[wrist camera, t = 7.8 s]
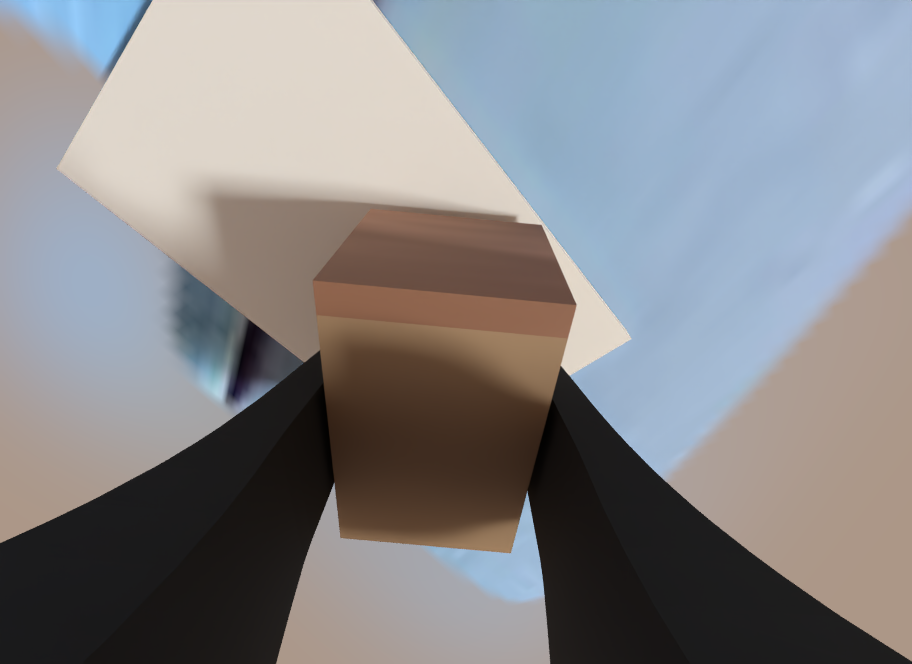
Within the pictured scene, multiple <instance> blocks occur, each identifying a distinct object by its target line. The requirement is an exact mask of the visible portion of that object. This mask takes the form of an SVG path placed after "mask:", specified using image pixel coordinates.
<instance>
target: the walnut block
mask: <svg viewBox="0 0 912 664" xmlns="http://www.w3.org/2000/svg"><path fill="white" fill-rule="evenodd" d="M312 281H313V290H314V299H315V308H316V317H317V326H318V336H319V345H320V354H321V363H322V372H323V381H324V391H325V400H326V409H327V418H328V427H329V436H330V445H331V455H332V464H333V473H334V482H335V491H336V499H337V510H338V518H339V527H340V537H341V538H347V539H358V540H370V541H380V542H393V543H402V544H414V545H425V546H436V547H447V548H458V549H469V550H481V551H492V552H503V553H511V550H512V547H513V543H514V539H515V535H516V532H517V528H518V524H519V520H520V517H521V513H522V509H523V505H524V502H525V498H526V494H527V490H528V487H529V483H530V479H531V475H532V472H533V468H534V464H535V460H536V456H537V453H538V449H539V445H540V441H541V438H542V434H543V430H544V426H545V423H546V419H547V415H548V411H549V408H550V404H551V400H552V396H553V393H554V389H555V385H556V381H557V378H558V374H559V370H560V366H561V363H562V359H563V355H564V351H565V348H566V344H567V340H568V336H569V333H570V329H571V325H572V321H573V318H574V314H575V310H576V306H577V304H576V302H575V300H574V298H573V295H572V293H571V291H570V288H569V286H568V284H567V282H566V279H565V277H564V275H563V272H562V270H561V268H560V266H559V263H558V261H557V259H556V256H555V254H554V252H553V250H552V247H551V245H550V243H549V240H548V238H547V236H546V234H545V231H544V229H543V227H542V225H538V224H527V223H517V222H506V221H495V220H485V219H474V218H464V217H453V216H443V215H432V214H421V213H411V212H400V211H390V210H379V209H370V210H369V211H368V213H367V214H366V215H365V216H364V217H363V219H362V220H361V221H360V222H359V224H358V225H357V226H356V227H355V229H354V230H353V231H352V232H351V234H350V235H349V236H348V237H347V238H346V240H345V241H344V242H343V243H342V245H341V246H340V247H339V248H338V250H337V251H336V252H335V253H334V255H333V256H332V257H331V258H330V259H329V261H328V262H327V263H326V264H325V266H324V267H323V268H322V269H321V271H320V272H319V273H318V274H317V276H316V277H315V278H314V279H313V280H312Z"/></svg>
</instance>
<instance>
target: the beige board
mask: <svg viewBox="0 0 912 664" xmlns="http://www.w3.org/2000/svg"><path fill="white" fill-rule="evenodd" d="M56 169H57V170H59V171H60V172H61V173H62V174H63V175H65V176H66V177H67V178H69V179H70V180H71V181H72V182H74V183H75V184H76V185H77V186H79V187H80V188H81V189H83V190H84V191H86V193H88V194H89V195H91V196H92V197H93V198H94V199H96V200H97V201H98V202H99V203H101V204H102V205H103V206H104V207H106V208H107V209H108V210H110V211H111V212H112V213H114V214H115V215H116V216H117V217H118V218H120V219H121V220H122V221H124V222H125V223H126V224H127V225H129V226H130V227H131V228H133V229H134V230H135V231H137V232H138V233H139V234H140V235H142V236H143V237H144V238H145V239H147V240H148V241H149V242H151V243H152V244H153V245H154V246H156V247H157V248H158V249H159V250H161V251H162V252H163V253H165V254H166V255H167V256H168V257H170V258H171V259H172V260H174V261H175V262H176V263H177V264H179V265H180V266H181V267H183V268H184V269H185V270H186V271H188V272H189V273H190V274H191V275H193V276H194V277H195V278H197V279H198V280H199V281H200V282H202V283H203V284H204V285H206V286H207V287H208V288H209V289H211V290H212V291H213V292H215V293H216V294H217V295H218V296H220V297H221V298H222V299H224V300H225V301H226V302H227V303H229V304H230V305H231V306H232V307H234V308H235V309H236V310H238V311H239V312H240V313H241V314H243V315H244V316H245V317H247V318H248V319H249V320H250V321H252V322H253V323H254V324H256V325H257V326H258V327H259V328H261V329H262V330H263V331H264V332H266V333H267V334H268V335H270V336H271V337H272V338H273V339H275V340H276V341H277V342H279V343H280V344H281V345H282V346H284V347H285V348H286V349H288V350H289V351H290V352H291V353H293V354H294V355H295V356H297V357H298V358H299V359H300V360H302V361H303V362H306V361H307V360H308V359H309V358H311V357H312V356H313V355H314V354H315V353H317V352H318V351H319V350H320V345H319V336H318V326H317V317H316V308H315V299H314V290H313V281H312V280H313V279H314V278H315V277H316V276H317V274H318V273H319V272H320V271H321V269H322V268H323V267H324V266H325V264H326V263H327V262H328V261H329V259H330V258H331V257H332V256H333V255H334V253H335V252H336V251H337V250H338V248H339V247H340V246H341V245H342V243H343V242H344V241H345V240H346V238H347V237H348V236H349V235H350V234H351V232H352V231H353V230H354V229H355V227H356V226H357V225H358V224H359V222H360V221H361V220H362V219H363V217H364V216H365V215H366V214H367V213H368V211H369V210H370V209H379V210H390V211H400V212H411V213H421V214H432V215H443V216H453V217H464V218H474V219H485V220H495V221H506V222H517V223H527V224H538V225H542V227H543V229H544V231H545V234H546V236H547V238H548V240H549V243H550V245H551V247H552V250H553V252H554V254H555V256H556V259H557V261H558V263H559V266H560V268H561V270H562V272H563V275H564V277H565V279H566V282H567V284H568V286H569V288H570V291H571V293H572V295H573V298H574V300H575V302H576V304H577V306H576V310H575V314H574V318H573V321H572V325H571V329H570V333H569V336H568V340H567V344H566V348H565V351H564V355H563V359H562V363H561V366H562V368H563V369H564V370H565V371H566V372H567V374H568V375H569V376H570V375H571V374H573V373H575V372H576V371H578V370H580V369H581V368H583V367H585V366H586V365H588V364H590V363H592V362H593V361H595V360H597V359H598V358H600V357H602V356H603V355H605V354H607V353H608V352H610V351H612V350H613V349H615V348H617V347H618V346H620V345H622V344H624V343H625V342H627V341H629V340H630V339H631V337H630V335H629V334H628V332H627V330H626V329H625V328H624V326H623V325H622V324H621V322H620V321H619V320H618V319H617V317H616V316H615V315H614V313H613V312H612V311H611V309H610V308H609V307H608V306H607V304H606V303H605V302H604V300H603V299H602V298H601V296H600V295H599V294H598V293H597V291H596V290H595V289H594V287H593V286H592V285H591V284H590V282H589V281H588V280H587V278H586V277H585V276H584V274H583V273H582V272H581V271H580V269H579V268H578V267H577V265H576V264H575V263H574V261H573V260H572V259H571V258H570V256H569V255H568V254H567V252H566V251H565V250H564V248H563V247H562V246H561V245H560V243H559V242H558V241H557V239H556V238H555V237H554V235H553V234H552V233H551V232H550V230H549V229H548V228H547V226H546V225H545V224H544V222H543V221H542V220H541V219H540V217H539V216H538V215H537V213H536V212H535V211H534V209H533V208H532V207H531V206H530V204H529V203H528V202H527V200H526V199H525V198H524V197H523V195H522V194H521V193H520V191H519V190H518V189H517V187H516V186H515V185H514V184H513V182H512V181H511V180H510V178H509V177H508V176H507V174H506V173H505V172H504V171H503V169H502V168H501V167H500V165H499V164H498V163H497V161H496V160H495V159H494V158H493V156H492V155H491V154H490V152H489V151H488V150H487V148H486V147H485V146H484V145H483V143H482V142H481V141H480V139H479V138H478V137H477V135H476V134H475V133H474V132H473V130H472V129H471V128H470V126H469V125H468V124H467V122H466V121H465V120H464V119H463V117H462V116H461V115H460V113H459V112H458V111H457V110H456V108H455V107H454V106H453V104H452V103H451V102H450V100H449V99H448V98H447V97H446V95H445V94H444V93H443V91H442V90H441V89H440V87H439V86H438V85H437V84H436V82H435V81H434V80H433V78H432V77H431V76H430V74H429V73H428V72H427V71H426V69H425V68H424V67H423V65H422V64H421V63H420V61H419V60H418V59H417V58H416V56H415V55H414V54H413V52H412V51H411V50H410V48H409V47H408V46H407V45H406V43H405V42H404V41H403V39H402V38H401V37H400V36H399V34H398V33H397V32H396V30H395V29H394V28H393V26H392V25H391V24H390V23H389V21H388V20H387V19H386V17H385V16H384V15H383V13H382V12H381V11H380V10H379V8H378V7H377V6H376V4H375V3H374V2H373V0H152V2H151V4H150V6H149V7H148V9H147V11H146V13H145V14H144V16H143V18H142V20H141V21H140V23H139V25H138V27H137V28H136V30H135V32H134V34H133V35H132V37H131V39H130V41H129V42H128V44H127V46H126V48H125V49H124V51H123V53H122V55H121V56H120V58H119V60H118V62H117V63H116V65H115V67H114V69H113V70H112V72H111V74H110V76H109V77H108V79H107V81H106V83H105V84H104V86H103V88H102V90H101V91H100V93H99V95H98V97H97V98H96V100H95V102H94V104H93V105H92V107H91V109H90V110H89V113H88V114H87V116H86V117H85V119H84V121H83V123H82V124H81V126H80V128H79V130H78V131H77V133H76V135H75V137H74V138H73V140H72V142H71V144H70V145H69V147H68V149H67V151H66V152H65V154H64V156H63V158H62V159H61V161H60V163H59V165H58V166H57V168H56Z"/></svg>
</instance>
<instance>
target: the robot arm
mask: <svg viewBox="0 0 912 664" xmlns="http://www.w3.org/2000/svg"><path fill="white" fill-rule="evenodd" d="M333 484H334V473H333V464H332V455H331V445H330V436H329V427H328V418H327V409H326V400H325V391H324V381H323V372H322V363H321V354H320V350H319V351H318V352H317V353H315V354H314V355H313V356H312V357H311V358H309V359H308V360H307V361H306V362H304V363H303V364H302V365H301V366H300V367H298V368H297V369H296V370H295V371H294V372H292V373H291V374H290V375H289V376H287V377H286V378H285V379H284V380H282V381H281V382H280V383H279V384H277V385H276V386H275V387H274V388H272V389H271V390H270V391H269V392H267V393H266V394H265V395H263V396H262V397H261V398H260V399H258V400H257V401H256V402H254V403H253V404H251V405H250V406H249V407H247V408H246V409H244V410H243V411H242V412H240V413H239V414H237V415H236V416H235V417H233V418H232V419H230V420H229V421H228V422H226V423H225V424H224V425H222V426H221V427H219V428H218V429H216V430H215V431H213V432H212V433H210V434H209V435H207V436H205V437H204V438H203V439H201V440H199V441H198V442H196V443H195V444H193V445H192V446H190V447H188V448H186V449H185V450H183V451H181V452H180V453H178V454H176V455H175V456H173V457H171V458H170V459H168V460H166V461H165V462H163V463H161V464H159V465H158V466H156V467H154V468H152V469H150V470H148V471H146V472H145V473H143V474H141V475H139V476H137V477H135V478H133V479H131V480H130V481H128V482H126V483H124V484H122V485H121V486H118V487H117V488H115V489H113V490H111V491H109V492H107V493H105V494H103V495H101V496H100V497H98V498H96V499H94V500H92V501H90V502H88V503H86V504H84V505H82V506H80V507H77V508H75V509H73V510H71V511H69V512H67V513H65V514H63V515H61V516H59V517H57V518H55V519H52V520H50V521H48V522H46V523H44V524H42V525H39V526H37V527H35V528H33V529H31V530H29V531H26V532H24V533H22V534H20V535H17V536H15V537H13V538H11V539H9V540H6V541H4V542H2V543H0V664H276V662H277V658H278V654H279V650H280V647H281V643H282V639H283V636H284V631H285V628H286V624H287V620H288V617H289V613H290V610H291V606H292V602H293V599H294V596H295V592H296V589H297V585H298V582H299V578H300V575H301V571H302V568H303V564H304V561H305V558H306V555H307V552H308V549H309V546H310V544H311V541H312V538H313V535H314V533H315V530H316V528H317V525H318V523H319V520H320V518H321V515H322V512H323V510H324V507H325V505H326V502H327V500H328V497H329V495H330V492H331V489H332V487H333ZM527 491H528V496H529V502H530V507H531V512H532V518H533V523H534V528H535V534H536V539H537V545H538V550H539V555H540V561H541V568H542V575H543V583H544V594H545V605H546V616H547V627H548V638H549V650H550V651H549V652H550V664H912V661H910V660H908V659H907V658H905V657H904V656H902V655H901V654H899V653H897V652H896V651H894V650H893V649H891V648H889V647H888V646H886V645H885V644H883V643H882V642H880V641H879V640H877V639H875V638H873V637H872V636H871V635H869V634H868V633H866V632H864V631H863V630H861V629H860V628H858V627H857V626H855V625H854V624H852V623H850V622H849V621H847V620H846V619H844V618H842V617H841V616H840V615H838V614H837V613H835V612H833V611H832V610H831V609H829V608H828V607H826V606H825V605H823V604H822V603H821V602H819V601H818V600H816V599H815V598H813V597H812V596H811V595H809V594H808V593H806V592H805V591H803V590H802V589H800V588H799V587H797V586H796V585H795V584H793V583H792V582H790V581H789V580H787V579H786V578H785V577H783V576H782V575H780V574H779V573H778V572H776V571H775V570H774V569H772V568H771V567H770V566H768V565H767V564H766V563H764V562H763V561H762V560H760V559H759V558H757V557H756V556H755V555H753V554H752V553H751V552H749V551H748V550H747V549H746V548H744V547H743V546H742V545H741V544H739V543H738V542H737V541H735V540H734V539H733V538H732V537H730V536H729V535H728V534H727V533H725V532H724V531H722V530H721V529H720V528H719V527H718V526H716V525H715V524H714V523H713V522H711V521H710V520H709V519H708V518H707V517H705V516H704V515H703V514H702V513H701V512H699V511H698V510H697V509H696V508H695V507H693V506H692V505H691V504H690V503H689V502H688V501H687V500H686V499H684V498H683V497H682V496H681V495H680V494H679V493H678V492H677V491H675V490H674V489H673V488H672V487H671V486H670V485H669V484H668V483H667V482H665V481H664V480H663V479H662V478H661V477H660V476H659V475H658V474H657V473H656V472H655V471H654V470H653V469H652V468H651V467H650V466H649V465H648V464H647V463H646V462H645V461H644V460H643V459H642V458H641V457H640V456H639V455H638V454H637V453H636V452H635V451H634V450H633V449H632V448H631V447H630V446H629V445H628V444H627V443H626V442H625V441H624V440H623V439H622V437H621V436H620V435H619V434H618V433H617V432H616V431H615V430H614V429H613V428H612V427H611V425H610V424H609V423H608V422H607V421H606V420H605V419H604V417H603V416H602V415H601V414H600V413H599V412H598V410H597V409H596V408H595V407H594V406H593V404H592V403H591V402H590V401H589V400H588V398H587V397H586V396H585V395H584V393H583V392H582V391H581V390H580V389H579V387H578V386H577V385H576V384H575V382H574V381H573V380H572V379H571V377H570V376H569V375H568V374H567V372H566V371H565V370H564V369H563V368H562V366H560V370H559V374H558V378H557V381H556V385H555V389H554V393H553V396H552V400H551V404H550V408H549V411H548V415H547V419H546V423H545V426H544V430H543V434H542V438H541V441H540V445H539V449H538V453H537V456H536V460H535V464H534V468H533V472H532V475H531V479H530V483H529V487H528V490H527Z"/></svg>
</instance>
